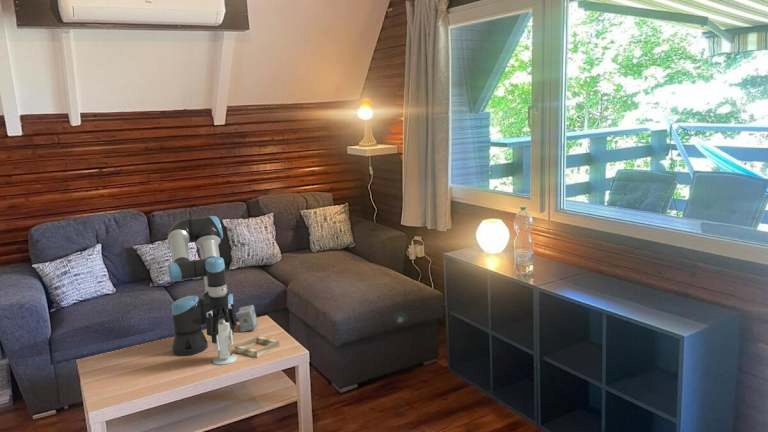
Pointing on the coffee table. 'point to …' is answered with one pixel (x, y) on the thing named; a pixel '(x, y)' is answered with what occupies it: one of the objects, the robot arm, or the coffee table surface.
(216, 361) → the white glossy dome
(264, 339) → the frame
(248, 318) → the incense holder
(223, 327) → the silver tall cylindrical piece
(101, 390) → the coffee table surface
